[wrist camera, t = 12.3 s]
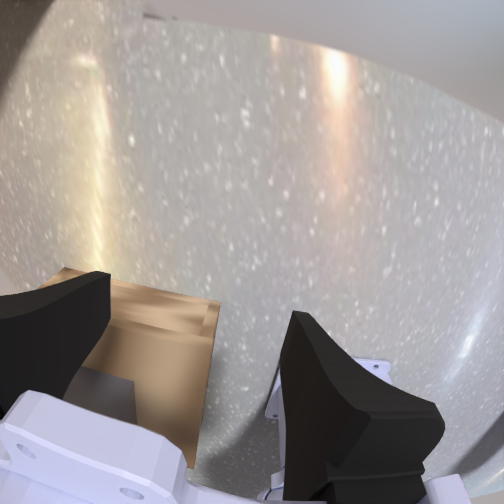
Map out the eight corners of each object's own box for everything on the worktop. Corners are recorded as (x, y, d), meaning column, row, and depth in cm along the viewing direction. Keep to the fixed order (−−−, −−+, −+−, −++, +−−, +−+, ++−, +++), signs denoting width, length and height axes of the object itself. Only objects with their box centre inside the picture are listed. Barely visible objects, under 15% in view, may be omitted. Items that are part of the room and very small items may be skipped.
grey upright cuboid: (134, 381, 19) (103, 450, 13) (138, 434, 21) (116, 495, 15) (80, 365, 19) (40, 425, 13) (91, 419, 21) (64, 475, 15)
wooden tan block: (213, 338, 19) (211, 348, 18) (195, 460, 23) (193, 469, 22) (29, 291, 18) (21, 297, 17) (58, 419, 23) (53, 426, 22)
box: (220, 302, 24) (211, 341, 19) (202, 417, 28) (194, 457, 23) (64, 267, 23) (30, 294, 18) (78, 383, 27) (57, 416, 23)
